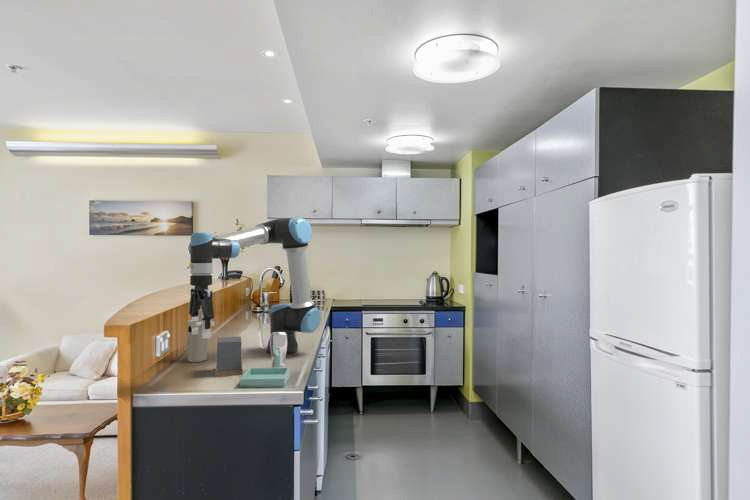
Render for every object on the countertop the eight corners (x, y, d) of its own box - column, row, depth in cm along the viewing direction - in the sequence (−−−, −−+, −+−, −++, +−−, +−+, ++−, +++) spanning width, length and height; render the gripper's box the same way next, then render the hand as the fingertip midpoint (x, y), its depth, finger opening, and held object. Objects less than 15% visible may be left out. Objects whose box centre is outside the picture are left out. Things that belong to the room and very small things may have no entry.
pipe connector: (205, 340, 155) (205, 312, 155) (180, 339, 157) (180, 311, 157) (220, 335, 165) (220, 308, 165) (196, 334, 167) (196, 308, 167)
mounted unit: (216, 368, 182) (216, 337, 182) (241, 366, 185) (242, 335, 185) (215, 376, 169) (215, 343, 169) (242, 374, 172) (242, 341, 172)
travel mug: (209, 358, 199) (210, 318, 199) (203, 362, 191) (203, 321, 191) (191, 358, 199) (192, 318, 199) (184, 362, 191) (185, 321, 191)
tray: (249, 375, 171) (249, 367, 171) (289, 375, 172) (289, 367, 172) (239, 387, 155) (239, 379, 156) (284, 387, 157) (284, 378, 157)
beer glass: (290, 368, 182) (290, 332, 182) (281, 372, 176) (281, 335, 176) (275, 367, 184) (275, 331, 185) (266, 371, 178) (266, 334, 178)
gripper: (179, 273, 166) (179, 333, 166) (203, 276, 151) (203, 341, 151) (199, 273, 172) (199, 330, 171) (224, 275, 156) (223, 338, 156)
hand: (200, 335), depth 161 cm, fingers closed on pipe connector, 9 cm apart
